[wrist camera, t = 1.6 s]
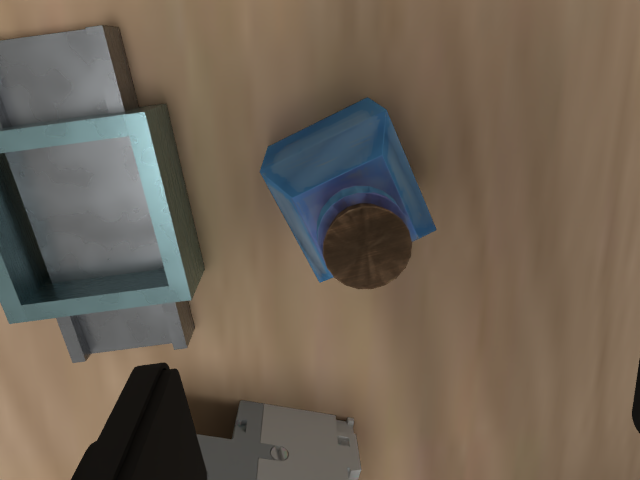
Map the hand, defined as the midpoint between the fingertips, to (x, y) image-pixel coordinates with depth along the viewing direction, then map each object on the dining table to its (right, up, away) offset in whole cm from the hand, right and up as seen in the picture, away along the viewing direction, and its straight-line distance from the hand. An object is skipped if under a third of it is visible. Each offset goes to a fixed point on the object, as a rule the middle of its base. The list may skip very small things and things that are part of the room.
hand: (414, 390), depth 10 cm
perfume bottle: (-1, +7, +19) cm, 20 cm away
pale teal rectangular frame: (-15, +5, +19) cm, 24 cm away
